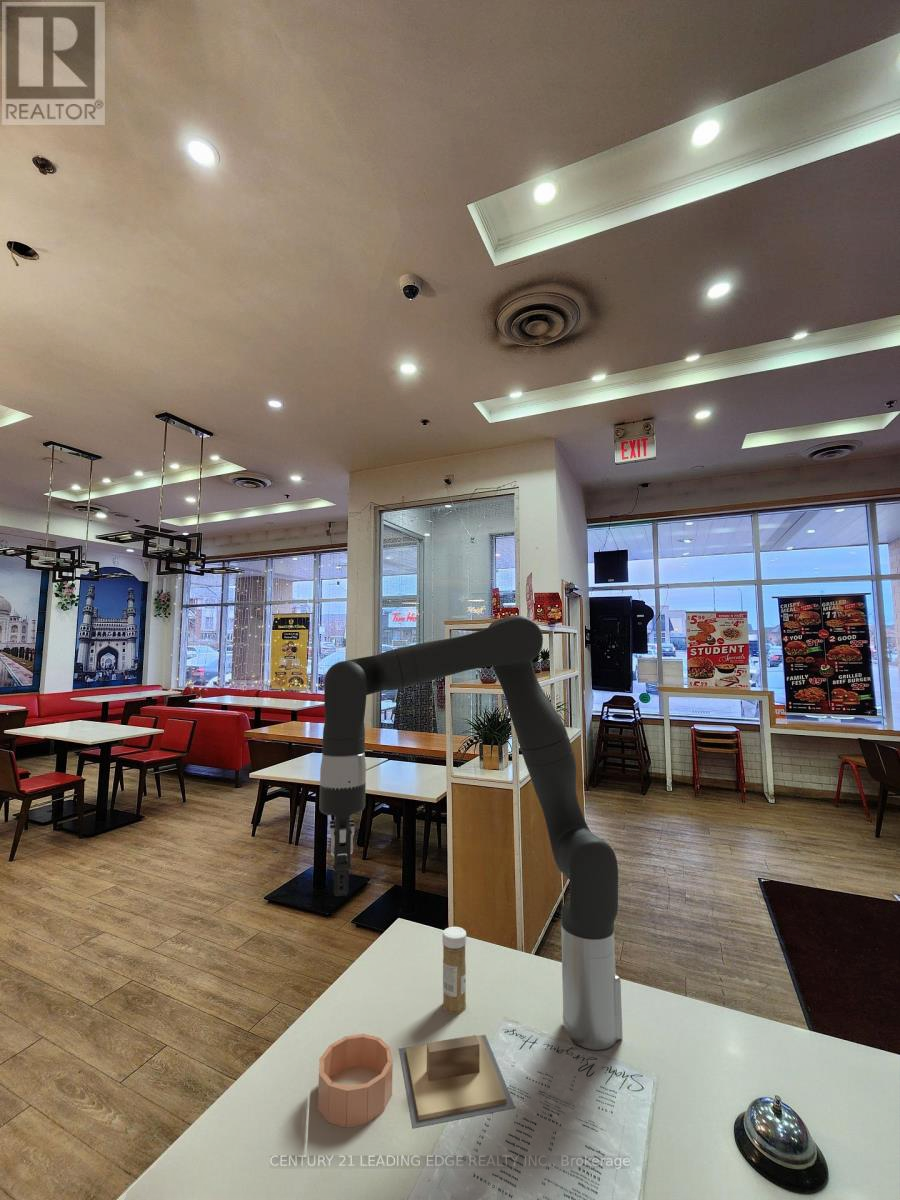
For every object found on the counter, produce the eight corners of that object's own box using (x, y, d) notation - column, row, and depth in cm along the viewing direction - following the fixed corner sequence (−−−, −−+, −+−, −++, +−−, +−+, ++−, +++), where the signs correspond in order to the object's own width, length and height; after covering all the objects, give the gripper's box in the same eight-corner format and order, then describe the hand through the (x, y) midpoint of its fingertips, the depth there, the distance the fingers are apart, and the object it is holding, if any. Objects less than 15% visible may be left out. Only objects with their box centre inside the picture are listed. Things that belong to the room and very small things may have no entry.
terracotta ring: (387, 1063, 82) (387, 1029, 83) (395, 1121, 72) (395, 1082, 72) (318, 1075, 80) (320, 1040, 80) (316, 1136, 69) (318, 1095, 70)
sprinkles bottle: (471, 1011, 95) (471, 933, 96) (450, 1020, 92) (451, 940, 94) (457, 997, 98) (457, 923, 100) (437, 1006, 96) (437, 929, 98)
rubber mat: (485, 1037, 88) (485, 1034, 88) (515, 1111, 73) (515, 1107, 73) (398, 1051, 85) (398, 1048, 85) (412, 1132, 70) (412, 1128, 70)
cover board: (481, 1039, 87) (481, 1010, 87) (506, 1103, 74) (506, 1068, 75) (405, 1052, 84) (406, 1021, 84) (418, 1120, 71) (419, 1083, 72)
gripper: (368, 789, 79) (366, 900, 77) (363, 771, 93) (361, 864, 91) (318, 792, 77) (315, 906, 75) (320, 773, 91) (318, 868, 89)
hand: (340, 883), depth 83 cm, fingers open, 8 cm apart
